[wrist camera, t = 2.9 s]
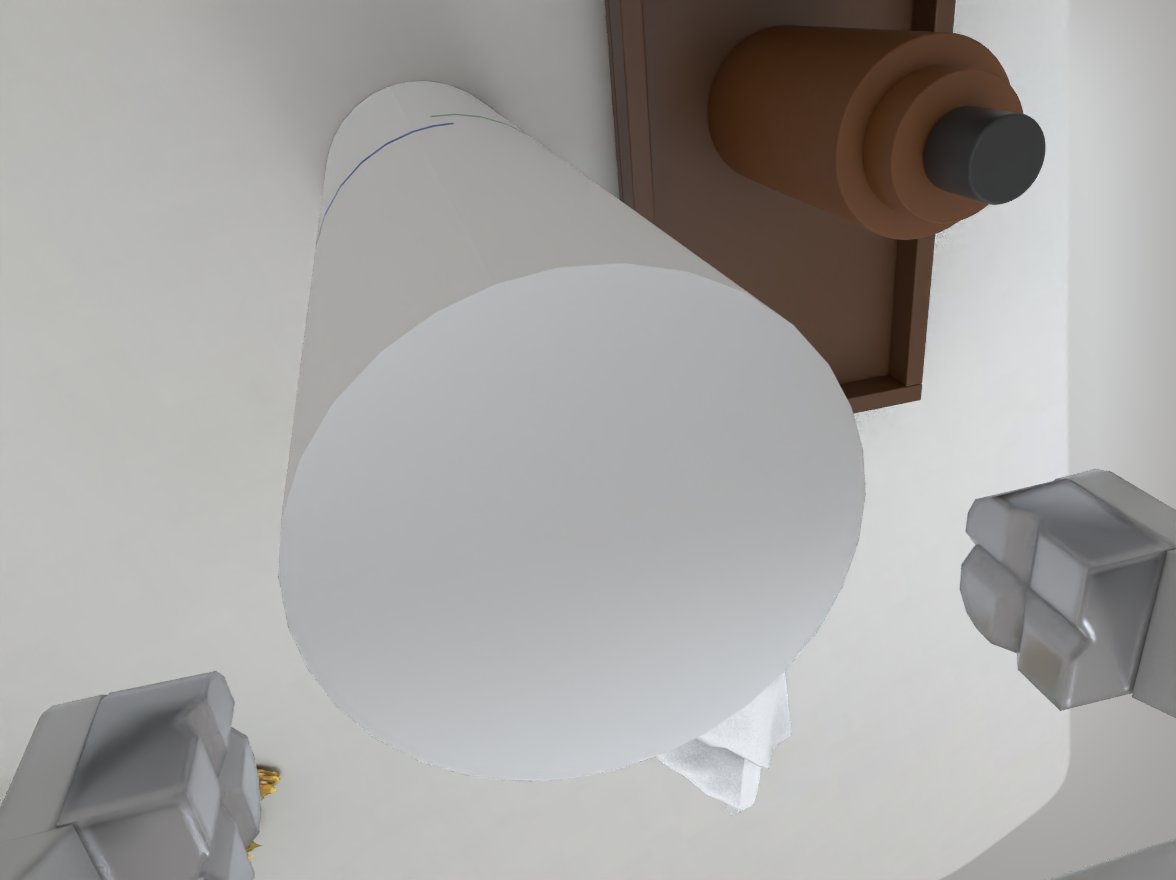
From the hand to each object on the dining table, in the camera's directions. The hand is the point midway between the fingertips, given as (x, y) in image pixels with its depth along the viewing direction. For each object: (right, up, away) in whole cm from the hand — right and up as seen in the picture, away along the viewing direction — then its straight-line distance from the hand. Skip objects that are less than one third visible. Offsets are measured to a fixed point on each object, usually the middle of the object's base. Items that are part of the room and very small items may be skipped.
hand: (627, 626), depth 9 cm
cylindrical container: (-6, +11, +23) cm, 27 cm away
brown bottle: (+7, +15, +24) cm, 29 cm away
